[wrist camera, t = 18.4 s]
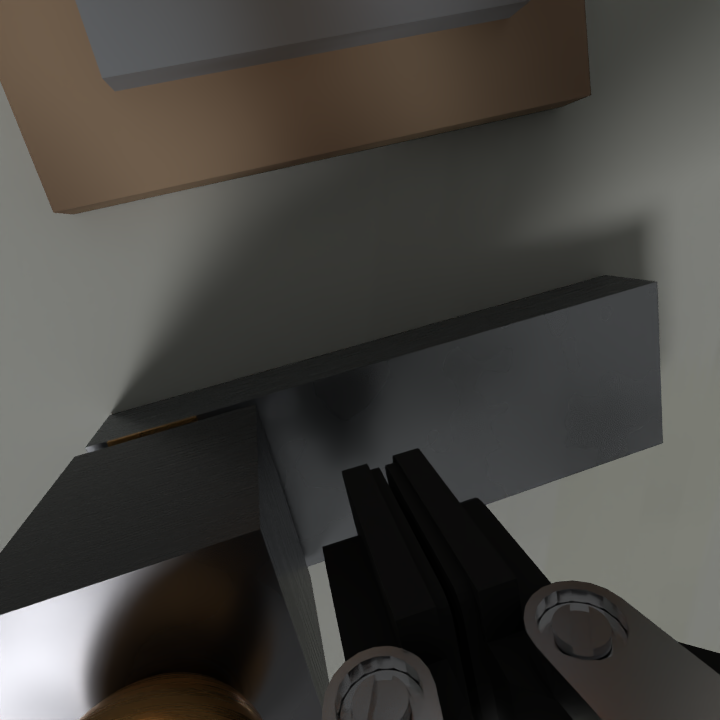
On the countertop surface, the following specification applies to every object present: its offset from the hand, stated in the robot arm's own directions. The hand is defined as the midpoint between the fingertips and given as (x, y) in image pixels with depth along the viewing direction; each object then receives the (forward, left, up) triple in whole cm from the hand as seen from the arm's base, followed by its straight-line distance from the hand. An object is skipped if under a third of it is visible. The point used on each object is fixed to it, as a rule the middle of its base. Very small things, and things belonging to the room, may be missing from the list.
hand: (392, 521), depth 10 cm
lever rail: (-1, 0, -5) cm, 5 cm away
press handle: (+4, 0, -2) cm, 5 cm away
